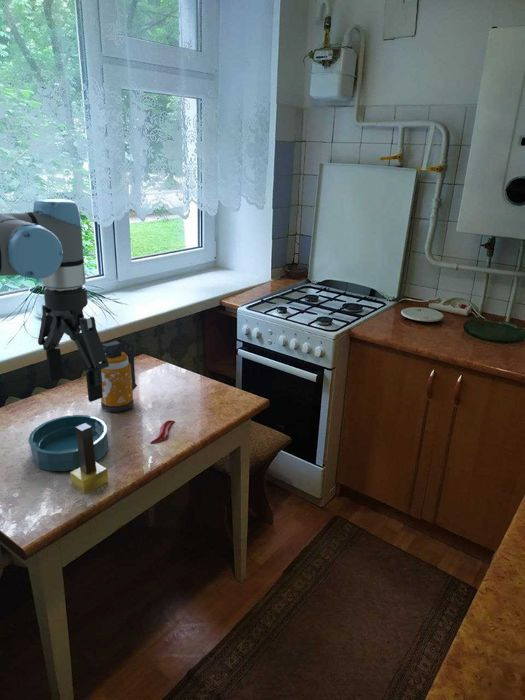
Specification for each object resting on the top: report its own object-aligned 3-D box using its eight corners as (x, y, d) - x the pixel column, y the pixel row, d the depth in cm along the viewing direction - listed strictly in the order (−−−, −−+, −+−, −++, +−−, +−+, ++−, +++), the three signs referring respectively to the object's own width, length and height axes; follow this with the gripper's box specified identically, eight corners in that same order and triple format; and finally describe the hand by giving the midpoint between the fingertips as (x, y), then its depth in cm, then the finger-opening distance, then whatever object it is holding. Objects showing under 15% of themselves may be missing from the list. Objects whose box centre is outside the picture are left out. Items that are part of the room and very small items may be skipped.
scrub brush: (84, 494, 106) (77, 436, 101) (71, 485, 109) (64, 428, 104) (108, 481, 111) (102, 425, 106) (95, 473, 114) (88, 417, 108)
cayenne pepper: (157, 445, 125) (157, 439, 124) (142, 440, 127) (142, 434, 126) (184, 424, 135) (184, 418, 134) (170, 420, 137) (170, 414, 136)
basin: (58, 483, 110) (55, 462, 108) (17, 454, 119) (14, 434, 117) (123, 450, 123) (121, 431, 121) (82, 426, 133) (80, 408, 130)
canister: (95, 406, 143) (88, 341, 136) (127, 394, 151) (123, 332, 144) (113, 417, 138) (107, 350, 130) (145, 403, 146) (142, 340, 138)
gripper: (124, 295, 88) (130, 401, 96) (47, 272, 102) (57, 366, 110) (87, 303, 83) (96, 415, 90) (11, 277, 96) (24, 376, 104)
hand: (75, 389), depth 100 cm, fingers open, 13 cm apart
